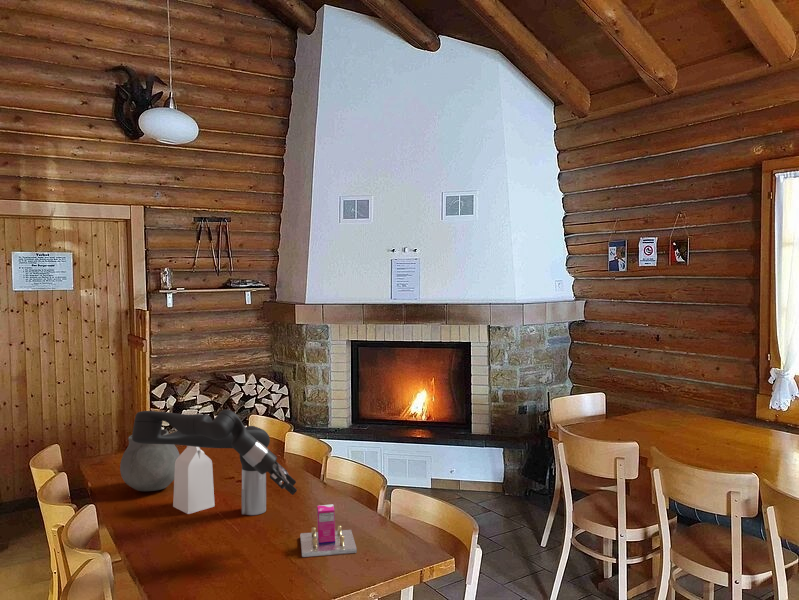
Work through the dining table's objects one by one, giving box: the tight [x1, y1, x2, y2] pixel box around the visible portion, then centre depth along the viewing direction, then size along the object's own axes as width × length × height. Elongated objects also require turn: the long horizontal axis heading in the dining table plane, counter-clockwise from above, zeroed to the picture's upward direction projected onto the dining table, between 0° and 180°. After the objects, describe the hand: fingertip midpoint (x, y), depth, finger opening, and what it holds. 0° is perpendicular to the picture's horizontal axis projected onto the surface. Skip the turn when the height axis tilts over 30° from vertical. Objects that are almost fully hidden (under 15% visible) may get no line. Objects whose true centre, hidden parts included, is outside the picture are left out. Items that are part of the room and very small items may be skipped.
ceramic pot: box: [119, 428, 181, 492], centre depth 270 cm, size 24×24×25 cm
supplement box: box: [316, 503, 336, 544], centre depth 214 cm, size 6×6×12 cm
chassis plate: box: [299, 524, 358, 558], centre depth 213 cm, size 18×16×4 cm
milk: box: [172, 446, 216, 515], centre depth 250 cm, size 12×12×26 cm
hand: (294, 488), depth 212 cm, fingers open, 8 cm apart
